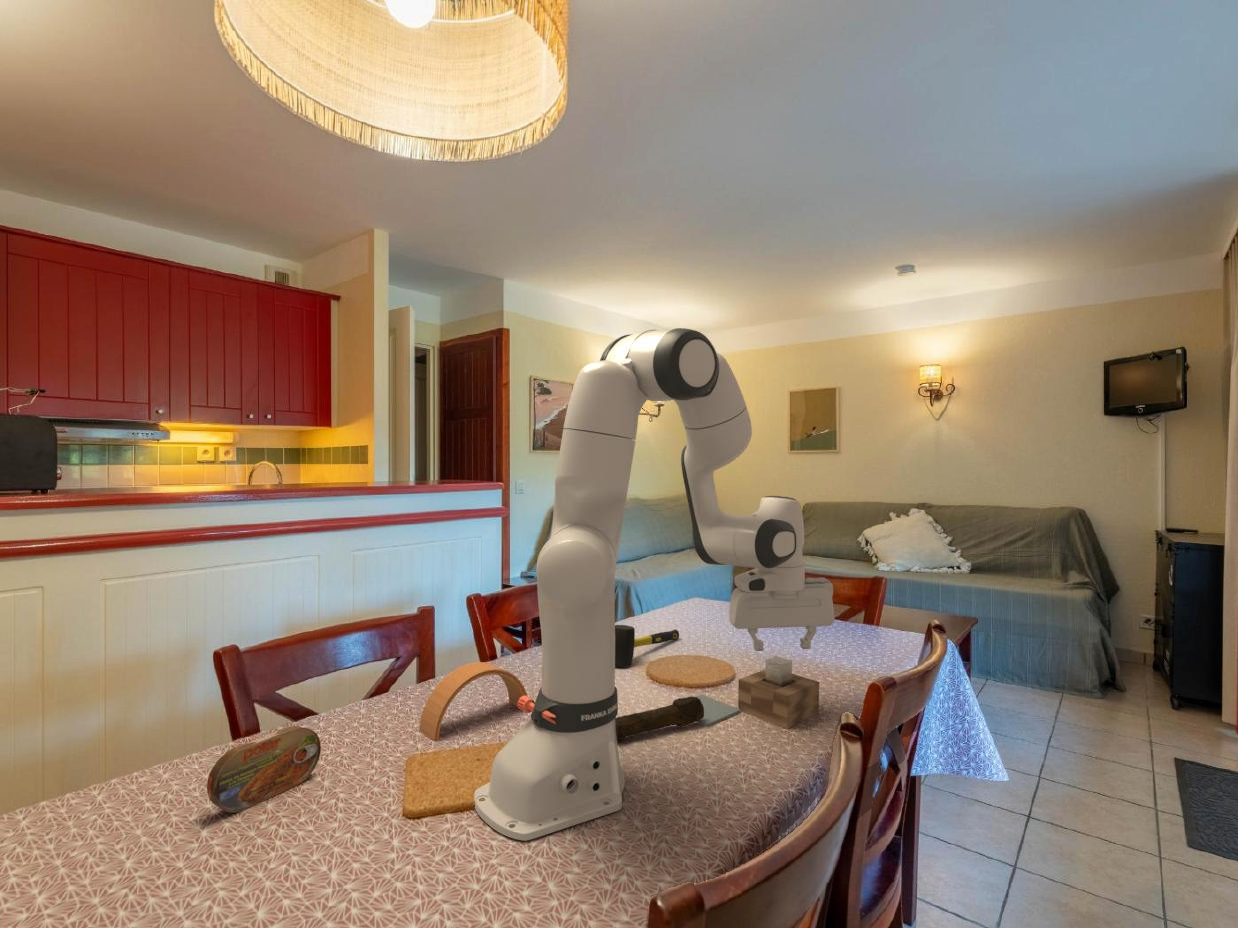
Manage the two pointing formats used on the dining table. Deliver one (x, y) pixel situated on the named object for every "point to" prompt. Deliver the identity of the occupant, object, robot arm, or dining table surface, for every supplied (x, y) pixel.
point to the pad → (715, 711)
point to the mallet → (635, 643)
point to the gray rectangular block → (779, 671)
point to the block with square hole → (778, 699)
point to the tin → (263, 768)
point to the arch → (455, 684)
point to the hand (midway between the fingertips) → (782, 649)
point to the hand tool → (660, 717)
